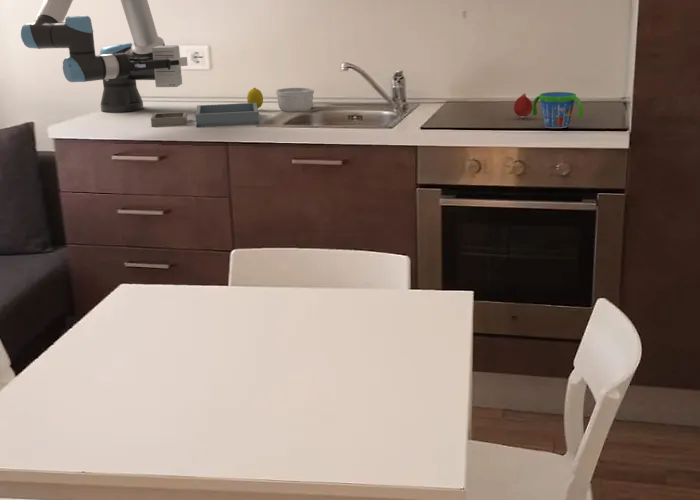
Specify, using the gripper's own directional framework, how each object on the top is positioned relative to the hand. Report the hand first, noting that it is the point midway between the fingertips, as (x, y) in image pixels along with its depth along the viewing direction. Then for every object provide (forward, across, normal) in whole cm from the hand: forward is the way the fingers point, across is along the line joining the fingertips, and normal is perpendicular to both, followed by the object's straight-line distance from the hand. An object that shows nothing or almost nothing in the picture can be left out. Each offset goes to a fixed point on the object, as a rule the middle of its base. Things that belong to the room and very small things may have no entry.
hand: (179, 60), depth 287 cm
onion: (+80, +77, -20) cm, 113 cm away
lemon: (+29, -2, -20) cm, 36 cm away
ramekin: (+40, +6, -20) cm, 46 cm away
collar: (-5, -1, -20) cm, 21 cm away
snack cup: (+74, +96, -20) cm, 122 cm away
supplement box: (-4, 0, -8) cm, 9 cm away
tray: (+11, +10, -20) cm, 25 cm away
